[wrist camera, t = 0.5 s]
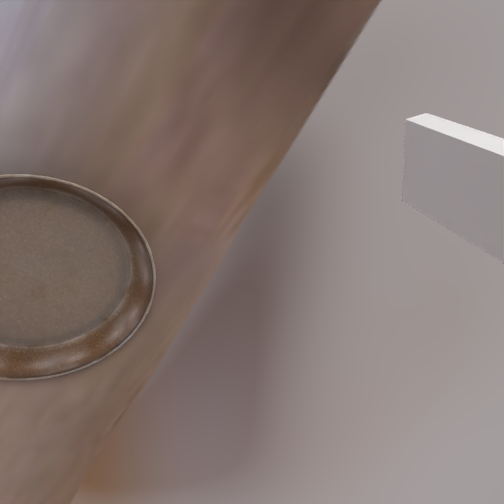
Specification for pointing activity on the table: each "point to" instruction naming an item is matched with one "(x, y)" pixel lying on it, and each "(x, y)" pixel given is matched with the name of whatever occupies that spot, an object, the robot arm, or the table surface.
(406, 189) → the robot arm
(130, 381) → the table surface
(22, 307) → the plant saucer
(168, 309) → the table surface
